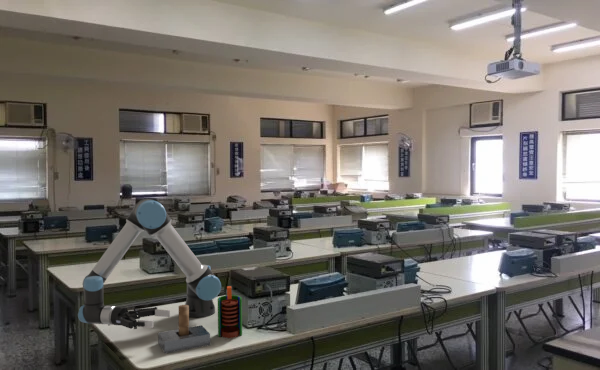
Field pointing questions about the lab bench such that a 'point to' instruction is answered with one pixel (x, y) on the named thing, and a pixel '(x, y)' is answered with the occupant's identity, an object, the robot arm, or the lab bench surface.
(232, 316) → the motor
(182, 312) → the pin
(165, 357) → the lab bench surface
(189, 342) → the hole block
